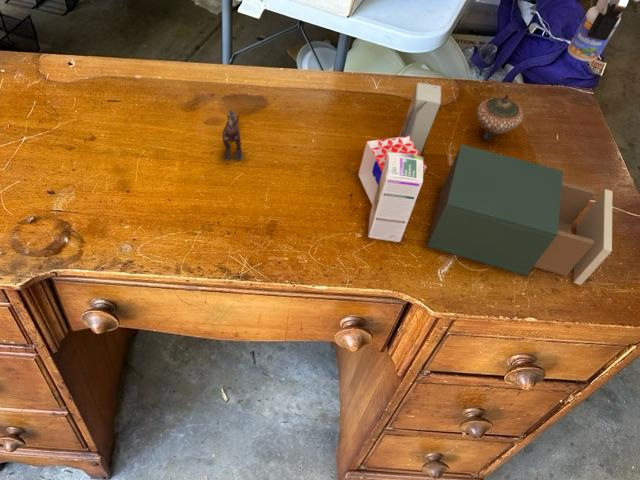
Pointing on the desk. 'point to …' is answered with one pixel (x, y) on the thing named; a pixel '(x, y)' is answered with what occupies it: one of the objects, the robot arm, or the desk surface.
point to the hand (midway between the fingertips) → (597, 27)
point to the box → (421, 114)
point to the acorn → (499, 115)
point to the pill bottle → (585, 45)
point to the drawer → (580, 234)
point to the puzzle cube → (381, 160)
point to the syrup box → (395, 196)
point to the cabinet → (497, 210)
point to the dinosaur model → (232, 136)
